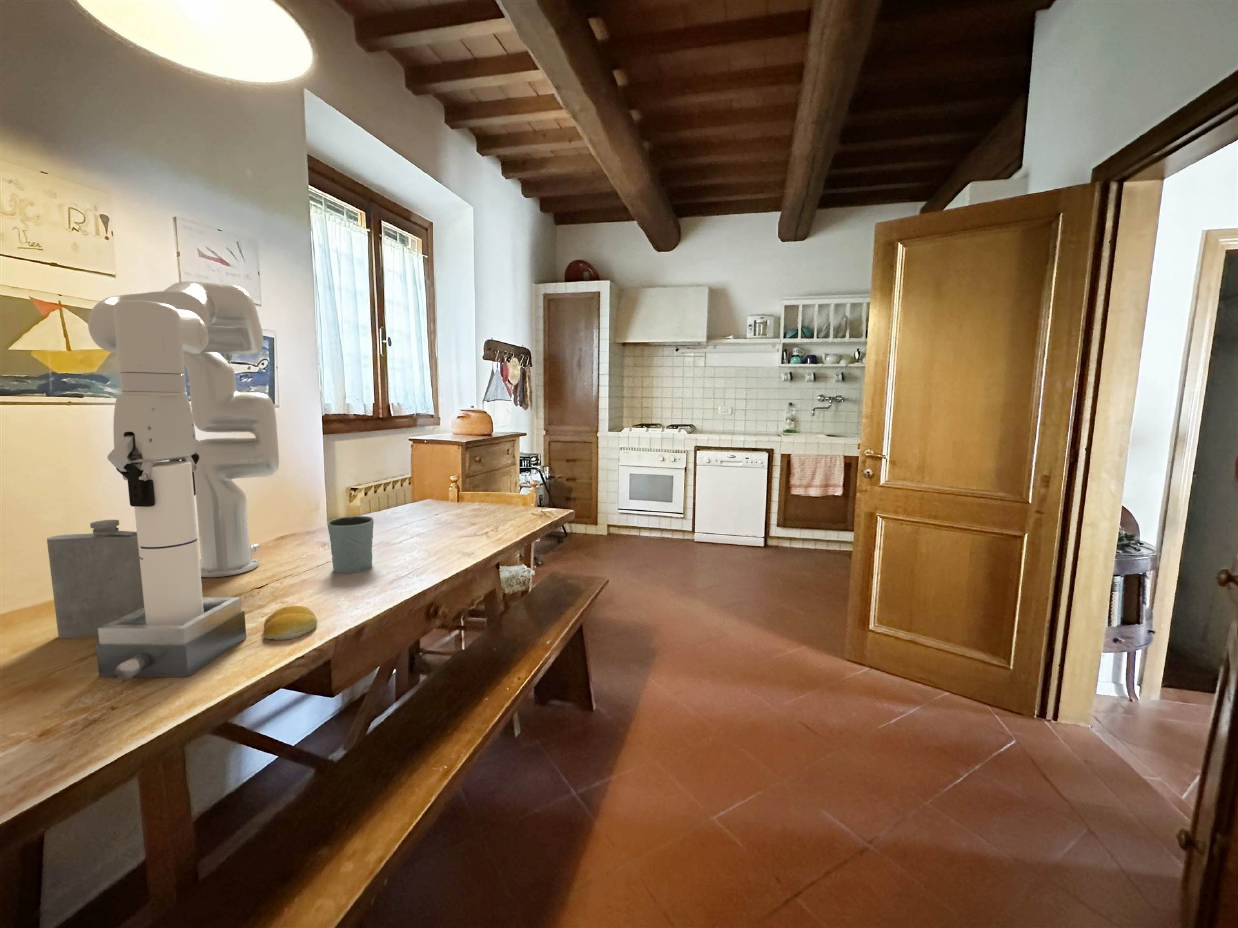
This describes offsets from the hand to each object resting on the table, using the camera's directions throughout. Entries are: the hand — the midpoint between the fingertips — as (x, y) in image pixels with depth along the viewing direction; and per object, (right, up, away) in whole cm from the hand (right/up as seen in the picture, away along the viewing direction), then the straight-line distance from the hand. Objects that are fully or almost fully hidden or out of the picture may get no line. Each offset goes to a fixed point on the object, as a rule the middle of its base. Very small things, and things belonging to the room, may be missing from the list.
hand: (164, 500), depth 82 cm
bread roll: (+11, -25, +14) cm, 30 cm away
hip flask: (-19, -24, +12) cm, 33 cm away
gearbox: (0, -26, +2) cm, 26 cm away
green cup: (+5, -20, +48) cm, 52 cm away
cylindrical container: (0, -19, +3) cm, 19 cm away
